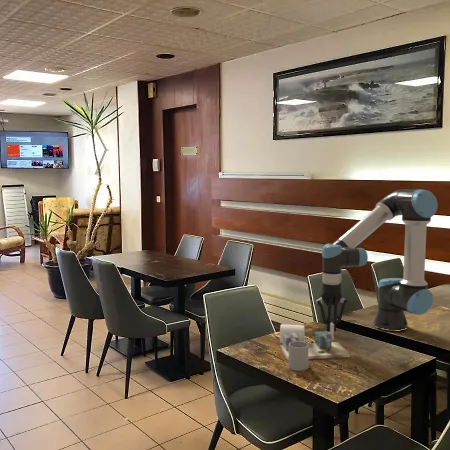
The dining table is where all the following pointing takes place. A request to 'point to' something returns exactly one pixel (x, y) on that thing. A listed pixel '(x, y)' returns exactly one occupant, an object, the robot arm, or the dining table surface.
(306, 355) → the cup
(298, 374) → the dining table surface
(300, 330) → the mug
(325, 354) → the board
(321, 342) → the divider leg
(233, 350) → the dining table surface
